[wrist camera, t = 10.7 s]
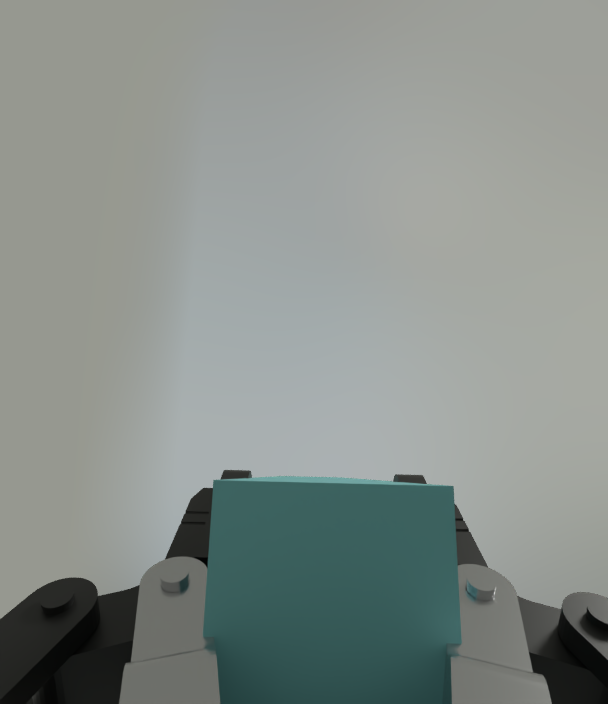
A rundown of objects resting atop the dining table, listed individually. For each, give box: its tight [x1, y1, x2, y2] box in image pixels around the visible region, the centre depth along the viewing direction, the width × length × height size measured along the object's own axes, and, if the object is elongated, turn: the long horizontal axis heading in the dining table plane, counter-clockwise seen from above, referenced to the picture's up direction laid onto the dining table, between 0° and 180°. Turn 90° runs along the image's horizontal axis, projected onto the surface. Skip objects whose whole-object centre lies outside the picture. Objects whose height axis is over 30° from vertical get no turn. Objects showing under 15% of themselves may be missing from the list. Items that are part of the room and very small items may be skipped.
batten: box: [203, 476, 462, 704], centre depth 19 cm, size 24×4×4 cm, turn 0°
